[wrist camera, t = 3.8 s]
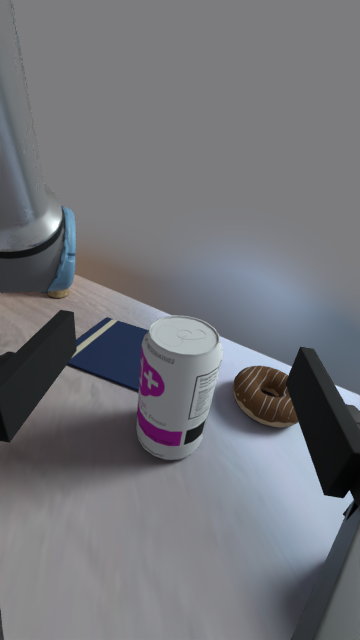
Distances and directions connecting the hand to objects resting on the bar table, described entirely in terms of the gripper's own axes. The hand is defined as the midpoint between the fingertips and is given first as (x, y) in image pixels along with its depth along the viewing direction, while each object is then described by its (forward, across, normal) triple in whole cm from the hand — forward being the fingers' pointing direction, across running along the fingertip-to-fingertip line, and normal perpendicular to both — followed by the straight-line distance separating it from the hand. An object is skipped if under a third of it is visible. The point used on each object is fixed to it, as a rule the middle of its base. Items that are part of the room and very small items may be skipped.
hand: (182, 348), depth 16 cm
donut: (+18, +13, -20) cm, 30 cm away
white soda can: (+10, 0, -20) cm, 22 cm away
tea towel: (+25, -9, -20) cm, 33 cm away
